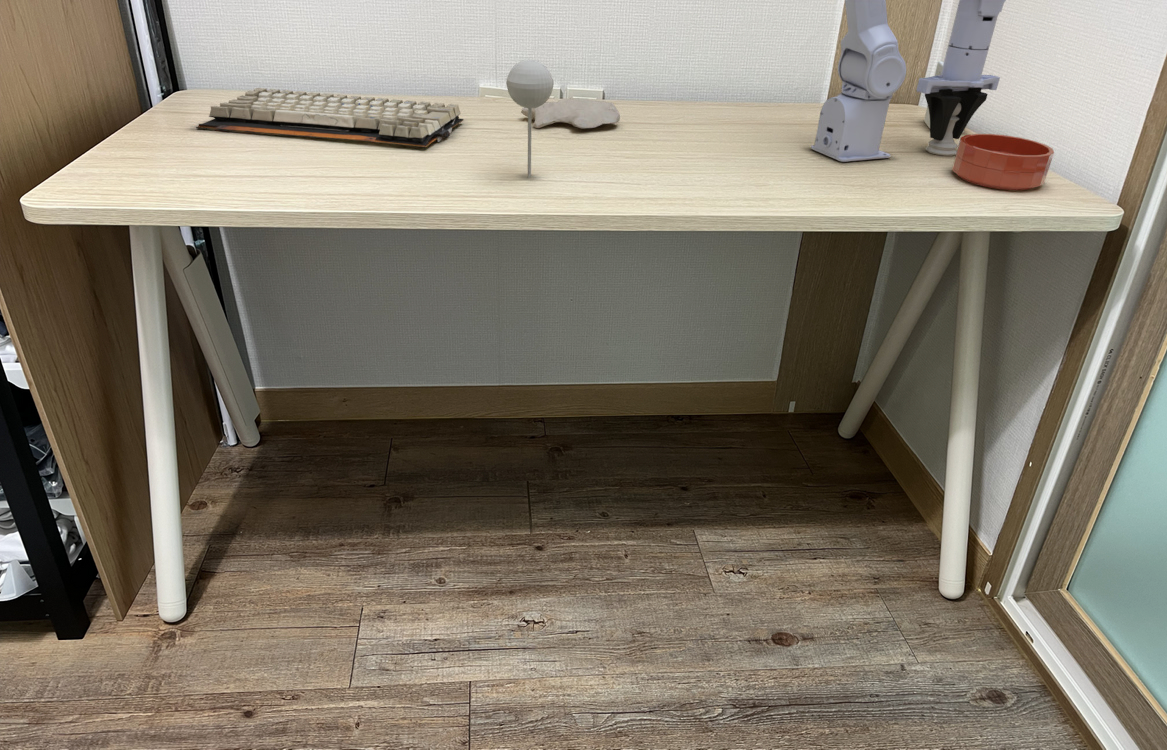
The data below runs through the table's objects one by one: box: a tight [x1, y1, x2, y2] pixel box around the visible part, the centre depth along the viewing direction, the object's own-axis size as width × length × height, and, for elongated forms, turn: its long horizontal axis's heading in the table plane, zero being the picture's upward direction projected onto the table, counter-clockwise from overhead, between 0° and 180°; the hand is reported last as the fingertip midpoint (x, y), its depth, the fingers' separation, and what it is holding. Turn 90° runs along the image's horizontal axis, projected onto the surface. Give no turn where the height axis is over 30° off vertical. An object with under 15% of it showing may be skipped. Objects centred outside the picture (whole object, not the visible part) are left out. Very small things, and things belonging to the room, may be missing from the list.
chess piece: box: [925, 103, 961, 157], centre depth 128 cm, size 5×5×8 cm
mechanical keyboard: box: [195, 87, 464, 149], centre depth 129 cm, size 38×19×3 cm, turn 79°
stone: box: [520, 97, 621, 130], centre depth 137 cm, size 14×4×15 cm
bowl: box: [951, 133, 1055, 191], centre depth 117 cm, size 12×12×5 cm
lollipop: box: [505, 58, 554, 179], centre depth 106 cm, size 6×6×15 cm
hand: (944, 138), depth 129 cm, fingers closed on chess piece, 3 cm apart
